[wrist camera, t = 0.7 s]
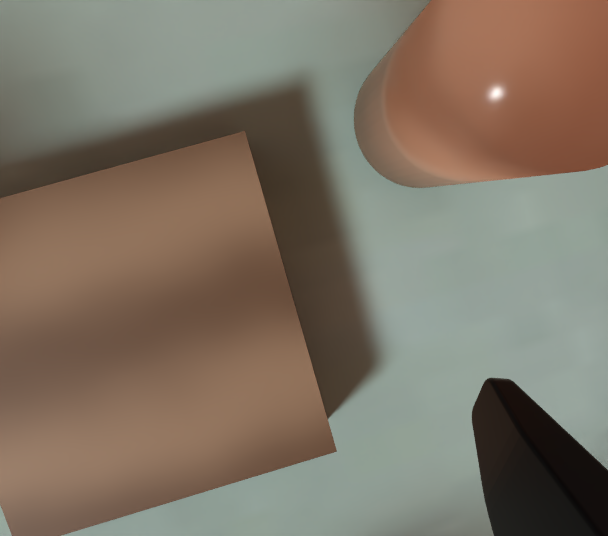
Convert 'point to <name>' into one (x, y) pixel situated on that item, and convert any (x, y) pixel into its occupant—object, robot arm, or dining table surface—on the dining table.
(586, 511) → the robot arm
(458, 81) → the terracotta cylinder
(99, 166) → the dining table surface
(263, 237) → the walnut plinth
